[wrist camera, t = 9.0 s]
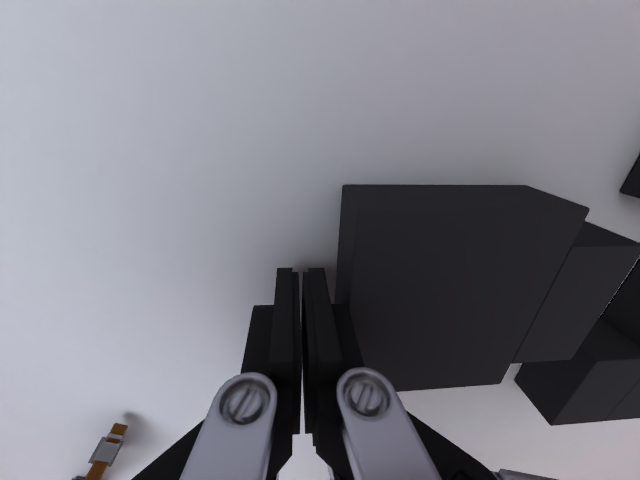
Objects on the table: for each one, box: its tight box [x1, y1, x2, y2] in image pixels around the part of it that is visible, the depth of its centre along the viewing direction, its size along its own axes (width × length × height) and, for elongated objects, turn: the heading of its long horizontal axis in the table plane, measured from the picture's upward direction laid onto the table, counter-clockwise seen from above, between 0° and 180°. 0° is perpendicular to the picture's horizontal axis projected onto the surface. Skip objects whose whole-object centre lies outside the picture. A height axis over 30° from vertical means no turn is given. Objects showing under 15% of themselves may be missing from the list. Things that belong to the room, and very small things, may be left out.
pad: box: [334, 184, 640, 392], centre depth 11 cm, size 8×10×2 cm
